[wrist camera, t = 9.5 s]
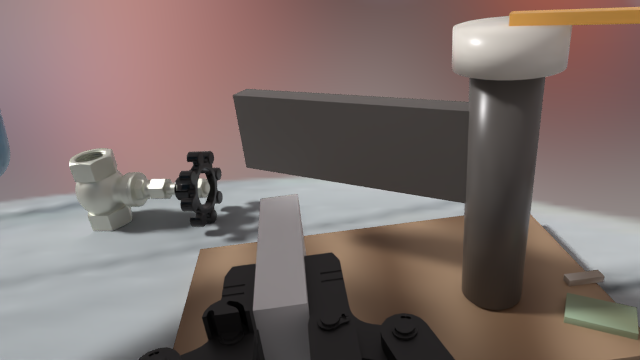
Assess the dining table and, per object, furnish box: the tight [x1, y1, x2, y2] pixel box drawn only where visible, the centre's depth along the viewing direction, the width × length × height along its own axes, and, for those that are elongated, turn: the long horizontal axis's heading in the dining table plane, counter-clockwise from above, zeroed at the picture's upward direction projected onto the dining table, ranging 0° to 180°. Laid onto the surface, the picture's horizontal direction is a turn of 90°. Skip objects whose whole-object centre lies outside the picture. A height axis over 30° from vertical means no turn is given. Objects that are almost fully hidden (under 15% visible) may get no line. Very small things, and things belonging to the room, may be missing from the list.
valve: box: [69, 148, 222, 231], centre depth 40 cm, size 7×7×12 cm
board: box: [173, 214, 640, 360], centre depth 28 cm, size 24×14×2 cm, turn 94°
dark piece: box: [233, 7, 640, 310], centre depth 26 cm, size 22×5×15 cm, turn 60°
